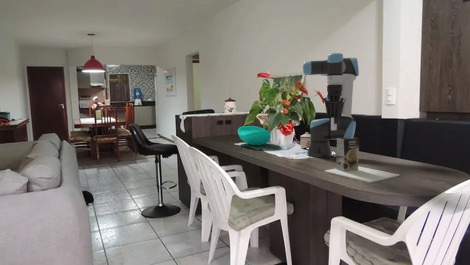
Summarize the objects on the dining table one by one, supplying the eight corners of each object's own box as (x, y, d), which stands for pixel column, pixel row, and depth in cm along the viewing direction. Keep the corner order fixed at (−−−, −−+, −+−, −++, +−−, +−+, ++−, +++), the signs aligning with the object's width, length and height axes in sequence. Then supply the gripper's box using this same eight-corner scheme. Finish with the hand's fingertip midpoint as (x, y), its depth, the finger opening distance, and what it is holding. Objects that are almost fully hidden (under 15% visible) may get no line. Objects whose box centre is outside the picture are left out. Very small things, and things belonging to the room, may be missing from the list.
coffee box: (344, 171, 161) (345, 139, 160) (335, 169, 167) (336, 137, 165) (358, 169, 165) (359, 138, 163) (349, 167, 171) (350, 136, 169)
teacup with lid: (307, 150, 231) (307, 133, 230) (297, 148, 238) (297, 132, 237) (318, 148, 238) (318, 132, 237) (308, 146, 245) (308, 131, 244)
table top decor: (231, 143, 270) (230, 126, 268) (261, 140, 280) (261, 125, 279) (251, 150, 233) (251, 131, 232) (285, 147, 244) (285, 129, 242)
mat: (324, 171, 164) (324, 170, 164) (352, 166, 176) (352, 165, 176) (370, 182, 143) (370, 181, 143) (399, 175, 154) (399, 174, 154)
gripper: (319, 84, 172) (319, 129, 175) (340, 83, 161) (339, 131, 164) (329, 84, 176) (328, 128, 179) (350, 83, 165) (348, 130, 168)
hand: (333, 130), depth 171 cm, fingers closed
